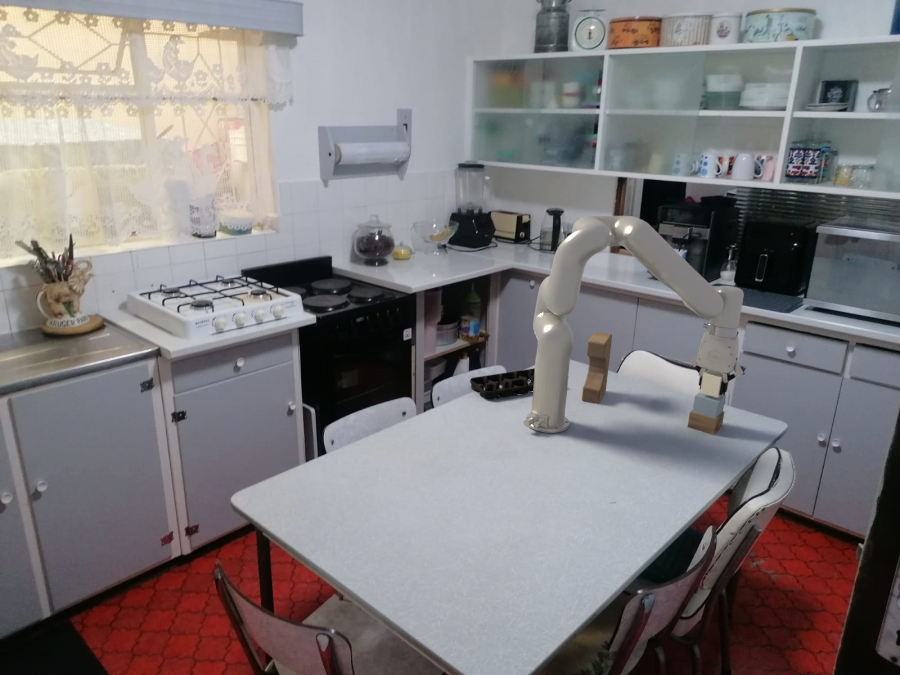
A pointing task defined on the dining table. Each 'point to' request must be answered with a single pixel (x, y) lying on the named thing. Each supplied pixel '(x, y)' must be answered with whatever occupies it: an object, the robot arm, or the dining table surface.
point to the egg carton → (503, 384)
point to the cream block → (711, 383)
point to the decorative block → (597, 367)
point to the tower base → (705, 422)
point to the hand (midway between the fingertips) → (712, 390)
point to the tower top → (708, 405)
